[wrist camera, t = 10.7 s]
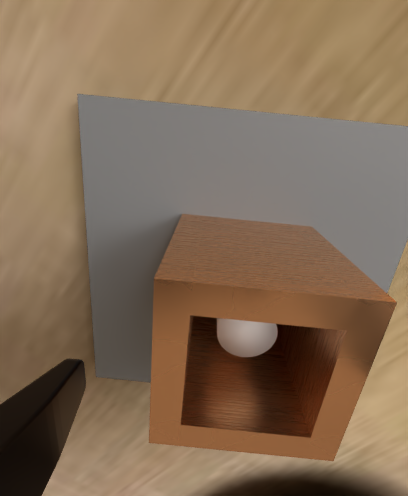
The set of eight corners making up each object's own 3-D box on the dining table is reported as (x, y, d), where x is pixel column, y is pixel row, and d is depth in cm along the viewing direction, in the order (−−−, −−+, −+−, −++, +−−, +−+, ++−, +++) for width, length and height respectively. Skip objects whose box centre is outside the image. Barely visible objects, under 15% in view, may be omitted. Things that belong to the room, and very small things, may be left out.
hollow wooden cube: (311, 226, 12) (396, 302, 6) (285, 332, 14) (333, 460, 8) (182, 213, 12) (154, 278, 6) (175, 321, 14) (148, 442, 8)
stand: (426, 131, 12) (579, 125, 7) (337, 384, 17) (387, 484, 12) (90, 98, 12) (1, 68, 7) (103, 361, 17) (58, 451, 12)
